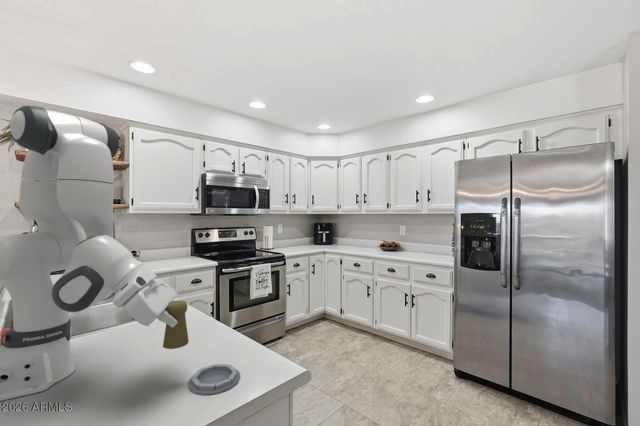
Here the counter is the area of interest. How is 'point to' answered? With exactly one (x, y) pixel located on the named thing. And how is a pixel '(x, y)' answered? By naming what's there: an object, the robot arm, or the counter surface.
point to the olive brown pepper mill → (176, 326)
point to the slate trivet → (214, 379)
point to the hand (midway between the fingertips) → (178, 320)
